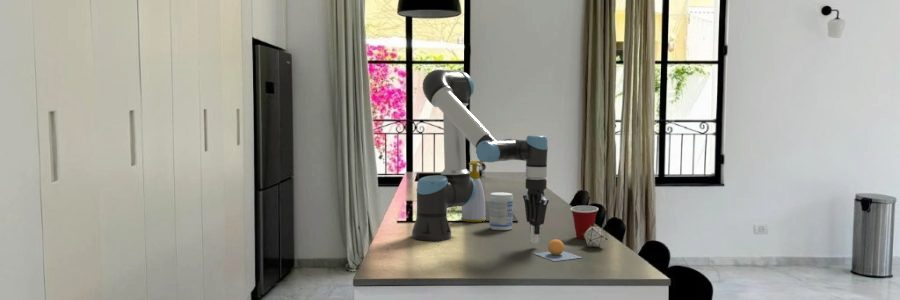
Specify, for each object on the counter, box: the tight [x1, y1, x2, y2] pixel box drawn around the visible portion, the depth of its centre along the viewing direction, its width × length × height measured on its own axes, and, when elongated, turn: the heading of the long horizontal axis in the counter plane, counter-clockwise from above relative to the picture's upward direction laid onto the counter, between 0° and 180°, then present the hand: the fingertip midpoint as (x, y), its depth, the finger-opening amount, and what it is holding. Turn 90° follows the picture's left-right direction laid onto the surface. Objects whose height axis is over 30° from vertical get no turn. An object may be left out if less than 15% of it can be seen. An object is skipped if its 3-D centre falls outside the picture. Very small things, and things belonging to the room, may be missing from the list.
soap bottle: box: [460, 160, 487, 223], centre depth 299 cm, size 11×12×26 cm
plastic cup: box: [570, 205, 599, 240], centre depth 265 cm, size 11×11×12 cm
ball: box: [547, 238, 565, 255], centre depth 235 cm, size 6×6×6 cm
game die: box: [582, 225, 609, 249], centre depth 249 cm, size 9×8×10 cm
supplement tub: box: [489, 191, 514, 231], centre depth 281 cm, size 10×10×15 cm
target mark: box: [532, 250, 583, 262], centre depth 234 cm, size 12×12×1 cm
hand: (534, 242), depth 246 cm, fingers closed
